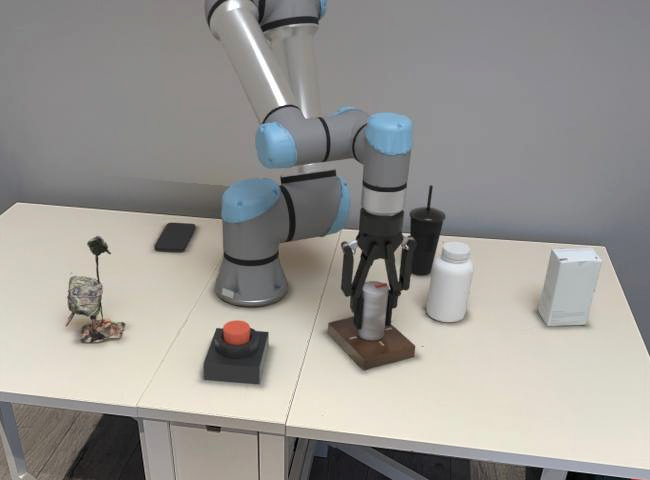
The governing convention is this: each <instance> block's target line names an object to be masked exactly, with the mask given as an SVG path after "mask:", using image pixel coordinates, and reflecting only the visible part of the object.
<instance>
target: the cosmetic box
mask: <svg viewBox="0 0 650 480" xmlns="http://www.w3.org/2000/svg"><path fill="white" fill-rule="evenodd" d="M602 264H603V260H602V258H601V257H600V256H599V254H597V252H596V251H595V250H594V248H593V247H592V246H589V247H567V248H566V247H565V248H551V250H550V255H549V259H548V264H547V268H546V274H545V279H544V283H543V287H542V293H541V296H540V297H541V298H540V301H539V302H540V303H539V306H538V314H539V315H540V317H541V318H542V320H543V322H544V324H545V325H546V326H547V327H560V326H562V327H563V326H585V325H587V322H588V318H589V314H590V312H591V311H590V310H591V307H592V303H593V299H594V295H595V291H596V287H597V284H598V279H599V276H600V272H601V269H602Z"/></svg>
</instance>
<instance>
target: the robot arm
mask: <svg viewBox="0 0 650 480" xmlns="http://www.w3.org/2000/svg"><path fill="white" fill-rule="evenodd" d="M327 3H328V0H204V16H205V17H204V18H205V20H206V24H207V26H208V28H209V30H210V33H211V35H212V36H213V38H214V39H215V40H217V41H218V42H220V43H221V44H222V46H223V48H224V50H225V52H226V55H227V57H228V59H229V61H230V63H231V65H232V67H233V70H234V72H235V74H236V76H237V78H238V80H239V83H240V85H241V87H242V90H243V91H244V93H245V96H246V99H247V100H248V102H249V104H250V106H251V109H252V111H253V113H254V115H255V118H256V119H257V122H258V124H259V126H258V127H257V128H256V131H255V137H254V145H255V150H256V153H257V154H256V155H257V158H258V161H259V162H260V164H261V165H262V166H263V167H264V168H266V169H268V170H269V169H270V170H271V169H273V170H274V169H283V171H282V172H281V174H280V175H279V178H280V185H279V183H278V182H277V181H276V180H274V179H272V178H267V177H262V178H259V177H251V178H246V179H243V180H240V181H236V182H235V183H233V184H231V185H230V186H228V187H227V189H226V190H225V191H224V192H223V194H222V197H221V210H220V217H221V221H222V222H221V225H222V226H221V227H222V228H221V229H222V257H223V258H222V261H221V264H220V267H219V270H218V273H217V276H216V279H215V292H216V295H217V297H218V298H219V299H220V300H222V301H223V302H226V303H227V304H230V305H233V306H238V307H244V308H258V307H259V308H261V307H265V306H269V305H273V304H275V303H277V302H279V301H281V300H282V299H283V298H284V297H285V296H286V294H287V293H288V292H287V291H288V281H287V276H286V274H285V271H284V268H283V265H282V263H281V260H280V244H284V243H290V242H297V241H301V240H308V239H313V238H324V237H326V236H330V235H334V234H337V233H339V232H340V231H342V230H343V228H345V226H346V224H347V221H348V219H349V216H350V212H351V192H350V188H349V187H348V183H347V181H346V180H345V179H344V178H343V177H341V176H339V175H337V169H336V167H335V166H334V165H333V164H332V163H331V162H336V161H342V160H350V159H351V160H352V159H354V160H355V161H357V162H358V163H359V164H361V165H362V166H363V168H362V183H361V196H360V197H361V198H360V206H361V208H360V209H359V212H360V213H359V221H358V223H359V224H358V233H357V235H356V237H355V239H354V240H352V241H349V242H347V241H345V240H344V241H342V242H341V243H340V246H341V250H342V267H341V279H340V280H341V281H340V290H341V292H342V293H343V295H344V296H345V297H346V298H347V297H349V309H350V311H351V313H352V314H353V317H354V318H353V323H354V325H355V326H356V328H357V330H359V329H361V327H362V315H363V303H364V298H363V297H362V295H361V292H362V289H363V286H364V284H365V282H367V281H366V280H367V278H368V275H369V272H370V270H371V267H372V266H373V265H374V262H375V261H377V260H384V266H385V270H386V276H387V282H388V287H389V292H388V302H387V312H386V321H385V325H386V326H391V324H392V316H393V309H397V308H398V303H399V302H398V301H399V297H400V296H401V295H402V292H403V291H406V292H407V291H409V290H410V286H411V278H412V273H411V268H412V258H413V252H414V250H415V248H416V246H417V242H416V241H415V240H414V238H413V237H412V236H410V235H407V236H405V235H403V227H404V218H405V210H404V209H405V207H406V199H407V191H408V190H407V189H408V181H409V173H410V163H411V157H412V156H411V155H412V148H413V131H414V129H413V128H414V127H413V124H414V123H413V121H412V120H411V118H409V117H408V116H406V115H404V114H398V113H397V112H378V113H374V114H372V115H371V114H370V113H368V112H367V111H366V110H362V109H360V108H357V107H354V106H343V107H341V108H339V109H338V110H337V111H335V112H334V113H333V114H332V115H325V116H323V113H322V104H321V97H320V88H319V81H318V71H317V70H318V69H317V63H316V54H315V46H314V45H315V44H314V36H315V35H316V34H317V32H318V30H319V29H320V23H319V22H320V21H321V20H322V19H323V18H324V17H325V14H326V13H327V9H328V5H327ZM400 246H401V253H400V254H401V255H400V264H399V276H398V273H397V267H396V255H395V253H396V251H397V250H398V249H399V247H400ZM357 248H359V249H360V250H361V253H360V256H359V262H358V265H357V268H356V271H355V273H354V265H355V264H354V262H355V258H354V255H356V253H357ZM353 274H354V276H353Z"/></svg>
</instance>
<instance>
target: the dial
mask: <svg viewBox="0 0 650 480" xmlns="http://www.w3.org/2000/svg"><path fill="white" fill-rule="evenodd" d="M389 290H390V287H389V283H387V282H382V281H378V280H369V281H365V284H364V286H363V289H362V292H361V295H362V297H363V298H364V303H363V315H362V327H361V329H359V330H358V335H359V336H360V337H361V338H363V339H365V340H370V341H375V340H379V339H381V338H383V336H384V331H385V321H386V312H387V302H388V292H389Z"/></svg>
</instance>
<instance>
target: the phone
mask: <svg viewBox="0 0 650 480" xmlns="http://www.w3.org/2000/svg"><path fill="white" fill-rule="evenodd" d="M196 227H197V226H196V224H195V223H187V222H167V223H166V224H165V226H164V228H163V229H162V231H161V233H160V235H159V237H158V239H157V240H156V242H155V243H154V246H153V248H154V250H155V251H160V252H161V251H162V252H176V253H177V252H178V253H179V252H181V253H182V252H184V251H185V250H186V248H187V247H188V244H189V243H190V241H191V238H192V237H193V234H194V233H195V230H196Z"/></svg>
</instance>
